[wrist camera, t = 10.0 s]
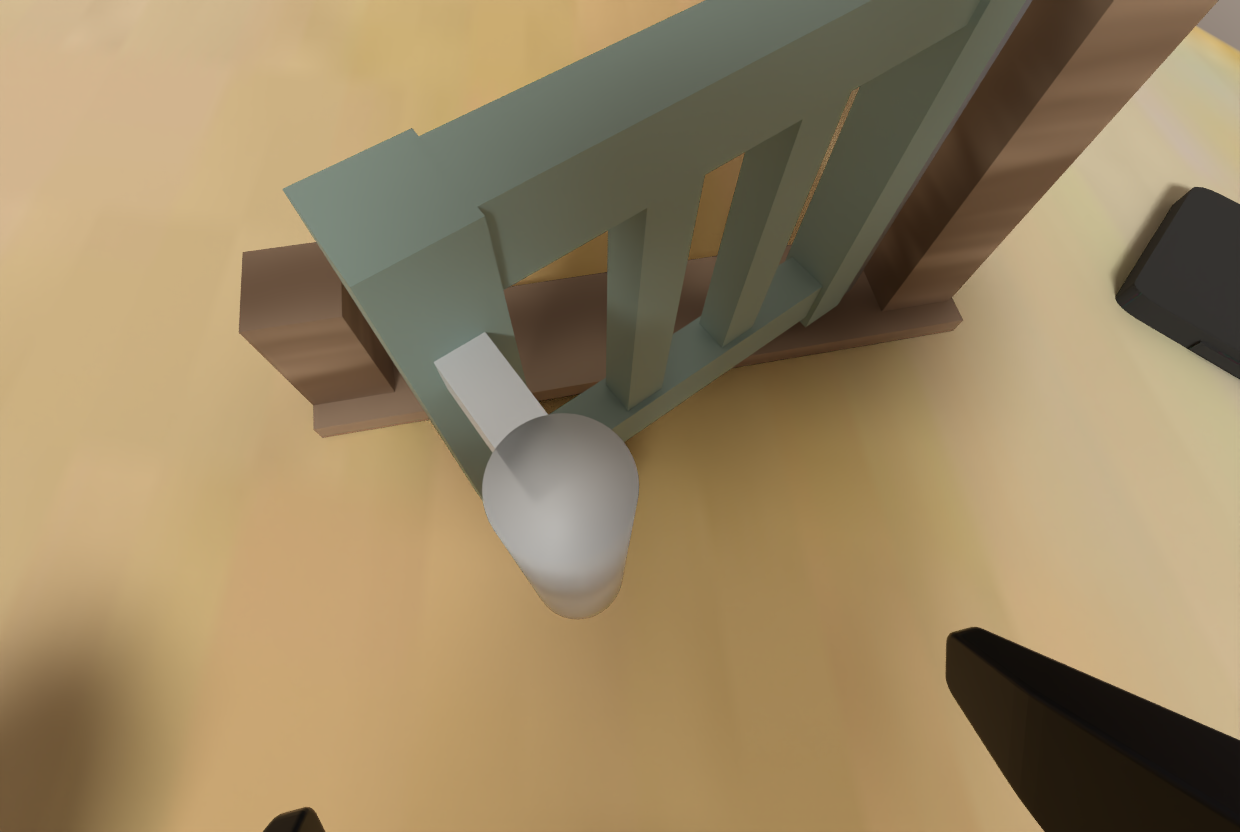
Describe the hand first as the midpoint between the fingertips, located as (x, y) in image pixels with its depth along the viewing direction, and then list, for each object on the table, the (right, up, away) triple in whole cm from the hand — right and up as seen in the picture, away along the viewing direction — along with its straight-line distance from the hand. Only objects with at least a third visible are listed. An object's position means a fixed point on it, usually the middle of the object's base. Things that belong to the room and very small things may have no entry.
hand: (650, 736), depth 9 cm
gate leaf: (+3, +4, +14) cm, 15 cm away
